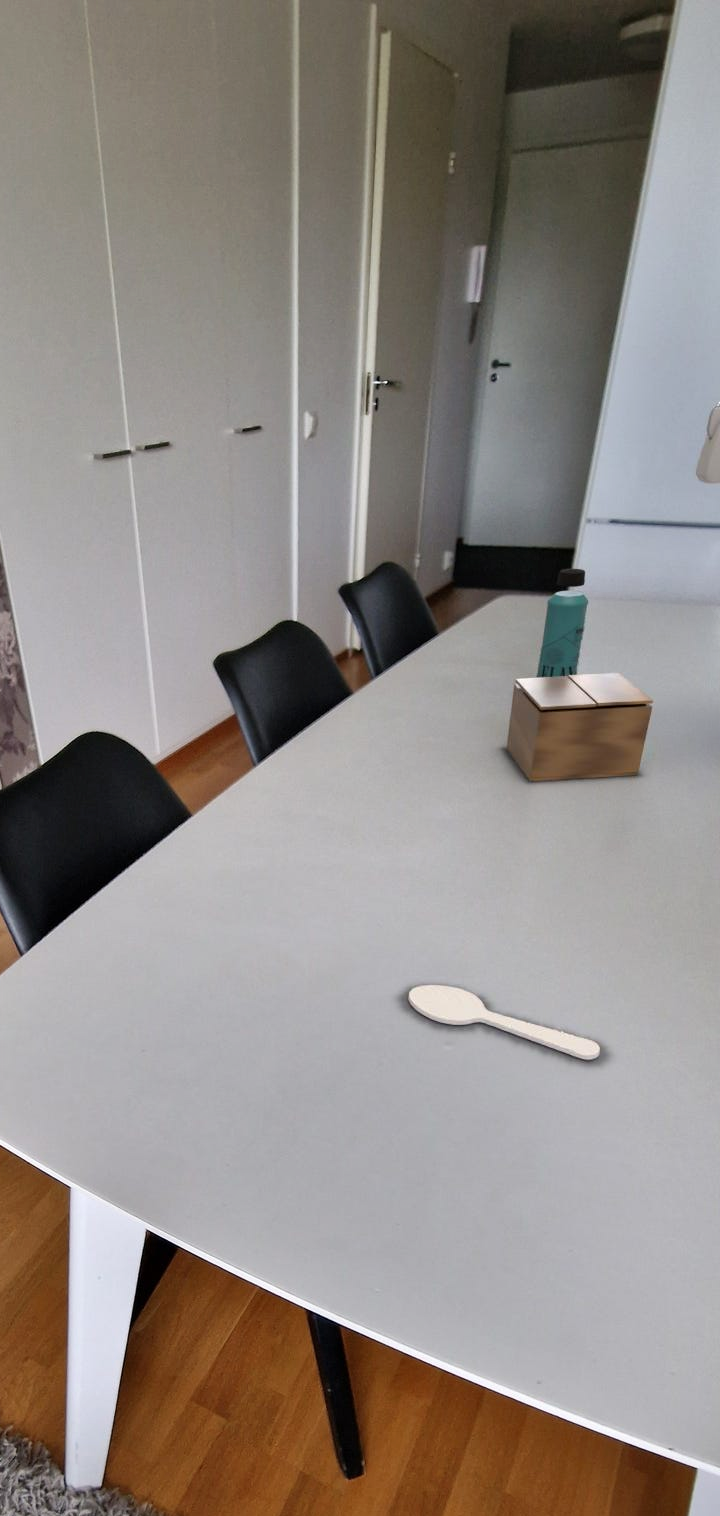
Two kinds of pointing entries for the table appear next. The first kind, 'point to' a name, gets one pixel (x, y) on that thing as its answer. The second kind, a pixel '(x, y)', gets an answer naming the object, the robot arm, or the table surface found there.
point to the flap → (610, 689)
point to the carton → (573, 732)
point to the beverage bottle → (563, 627)
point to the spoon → (492, 1019)
